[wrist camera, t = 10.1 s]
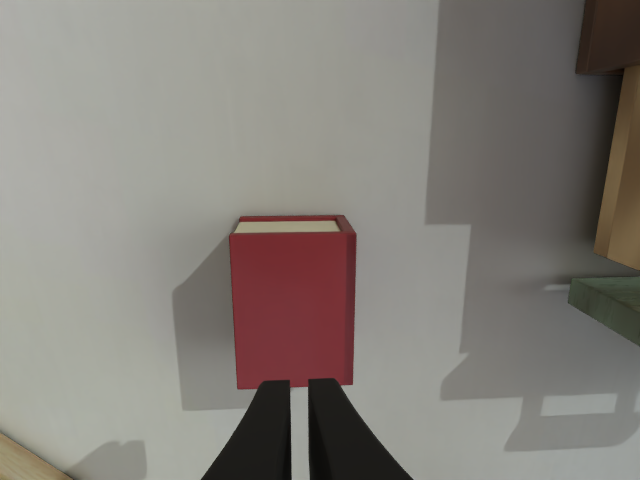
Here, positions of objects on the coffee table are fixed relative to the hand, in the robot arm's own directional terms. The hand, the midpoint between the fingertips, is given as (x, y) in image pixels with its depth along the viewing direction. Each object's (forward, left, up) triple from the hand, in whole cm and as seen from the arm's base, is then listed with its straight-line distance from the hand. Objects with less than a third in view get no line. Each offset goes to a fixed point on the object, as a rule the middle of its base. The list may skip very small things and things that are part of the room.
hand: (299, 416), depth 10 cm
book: (0, 0, -9) cm, 9 cm away
